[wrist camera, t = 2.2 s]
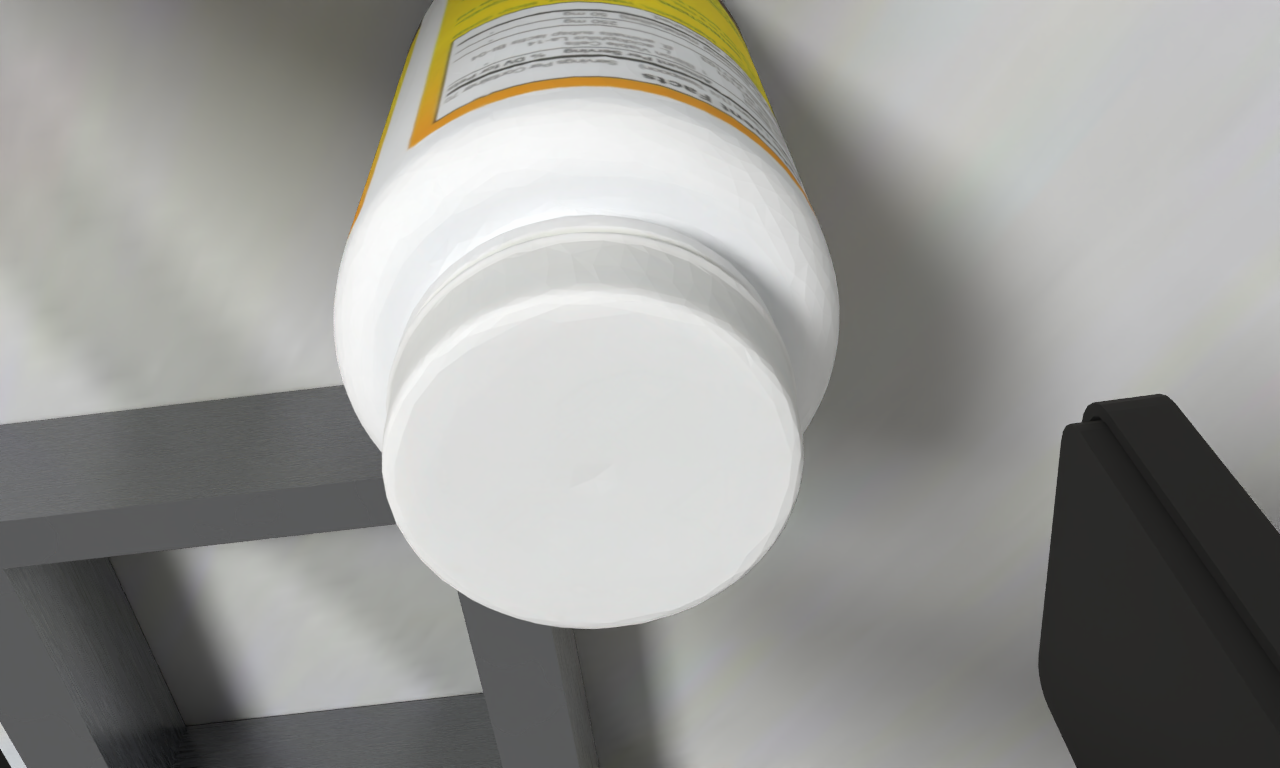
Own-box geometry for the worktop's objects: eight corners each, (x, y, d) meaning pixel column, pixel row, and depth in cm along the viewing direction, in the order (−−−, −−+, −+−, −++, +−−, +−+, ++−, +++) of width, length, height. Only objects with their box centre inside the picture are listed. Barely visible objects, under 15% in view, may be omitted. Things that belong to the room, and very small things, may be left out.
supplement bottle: (577, 304, 22) (584, 765, 13) (335, 88, 20) (156, 482, 11) (821, 98, 20) (1009, 482, 12) (585, -169, 18) (602, 66, 9)
